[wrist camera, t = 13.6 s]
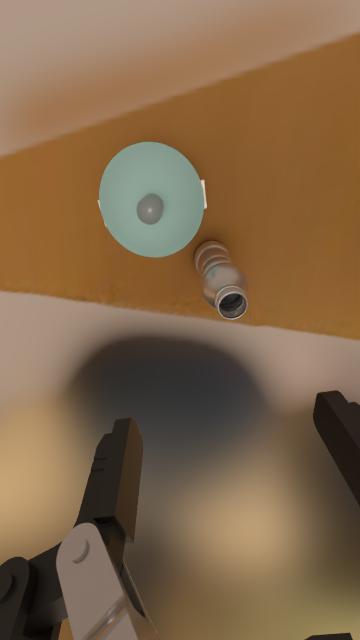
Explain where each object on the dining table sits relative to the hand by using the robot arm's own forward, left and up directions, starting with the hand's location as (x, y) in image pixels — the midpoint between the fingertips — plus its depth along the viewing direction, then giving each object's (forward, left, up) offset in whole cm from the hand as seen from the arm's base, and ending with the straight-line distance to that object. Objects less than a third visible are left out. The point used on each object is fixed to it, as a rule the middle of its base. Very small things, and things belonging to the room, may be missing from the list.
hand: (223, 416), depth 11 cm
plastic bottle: (-4, +5, -38) cm, 39 cm away
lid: (+4, -6, -30) cm, 31 cm away
